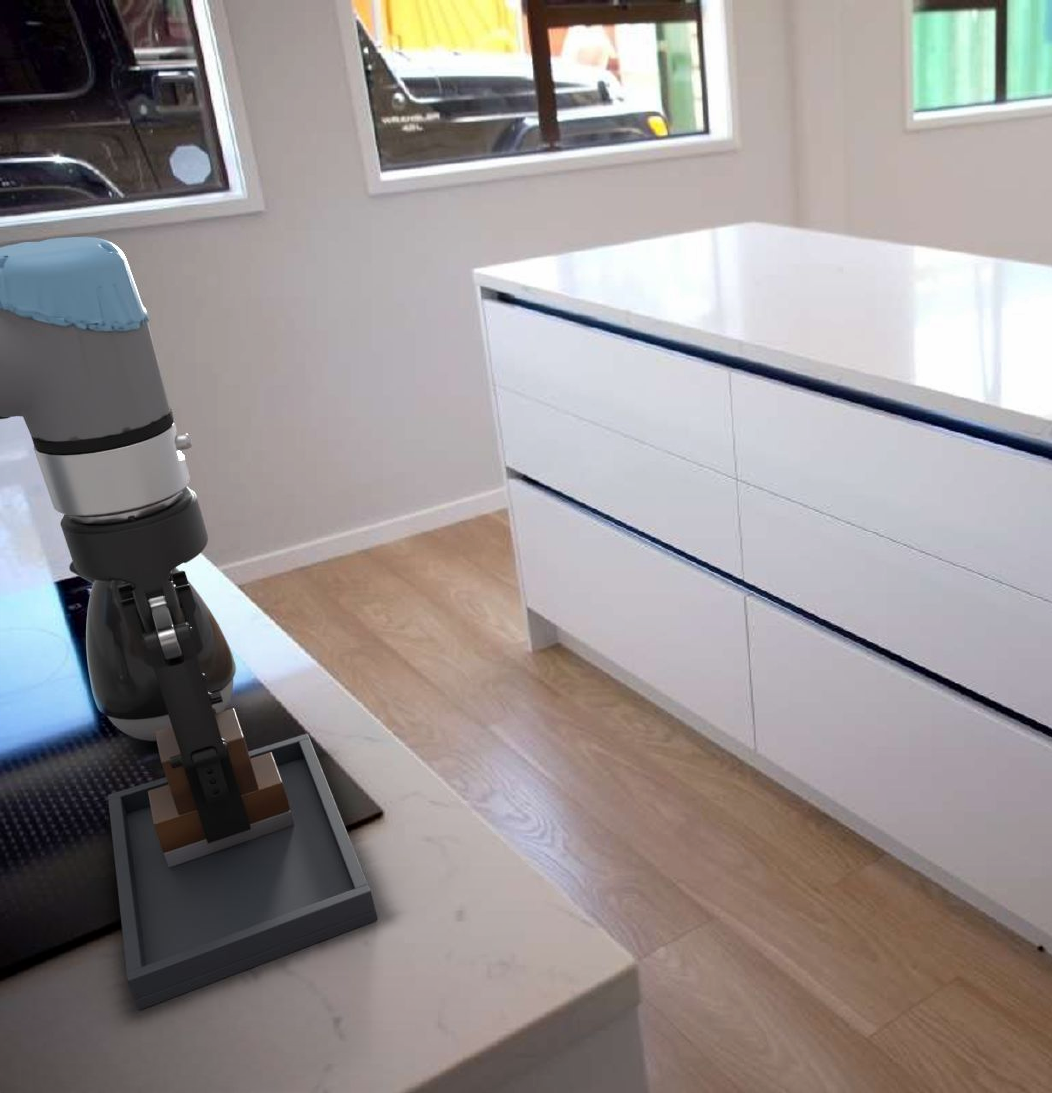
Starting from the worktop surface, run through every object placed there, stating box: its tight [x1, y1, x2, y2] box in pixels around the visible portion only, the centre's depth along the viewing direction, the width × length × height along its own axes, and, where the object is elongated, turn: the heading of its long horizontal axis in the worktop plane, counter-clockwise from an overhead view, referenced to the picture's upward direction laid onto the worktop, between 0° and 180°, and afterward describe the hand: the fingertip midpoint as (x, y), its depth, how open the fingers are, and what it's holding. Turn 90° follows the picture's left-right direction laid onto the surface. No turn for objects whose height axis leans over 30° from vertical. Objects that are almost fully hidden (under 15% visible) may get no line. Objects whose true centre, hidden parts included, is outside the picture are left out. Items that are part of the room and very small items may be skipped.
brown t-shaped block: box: [148, 707, 294, 868], centre depth 84 cm, size 4×8×8 cm, turn 121°
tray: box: [107, 733, 379, 1011], centre depth 83 cm, size 22×14×2 cm, turn 31°
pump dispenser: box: [68, 561, 237, 742], centre depth 98 cm, size 10×10×15 cm
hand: (223, 813), depth 85 cm, fingers closed on brown t-shaped block, 4 cm apart
